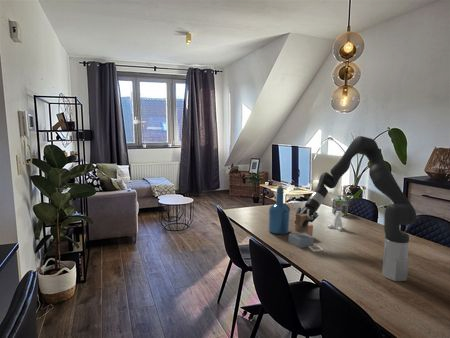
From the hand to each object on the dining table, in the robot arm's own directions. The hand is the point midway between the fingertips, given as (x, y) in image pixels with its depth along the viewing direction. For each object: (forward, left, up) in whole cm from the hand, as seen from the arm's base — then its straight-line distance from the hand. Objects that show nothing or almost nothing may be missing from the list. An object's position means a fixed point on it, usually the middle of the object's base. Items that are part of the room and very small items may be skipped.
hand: (299, 224), depth 172 cm
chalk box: (+56, -57, -12) cm, 80 cm away
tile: (-8, -7, -11) cm, 16 cm away
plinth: (+1, -2, -12) cm, 12 cm away
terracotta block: (+11, -10, -11) cm, 18 cm away
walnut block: (+1, -2, -4) cm, 5 cm away
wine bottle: (+22, +4, -12) cm, 25 cm away
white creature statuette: (+24, -37, -12) cm, 45 cm away
